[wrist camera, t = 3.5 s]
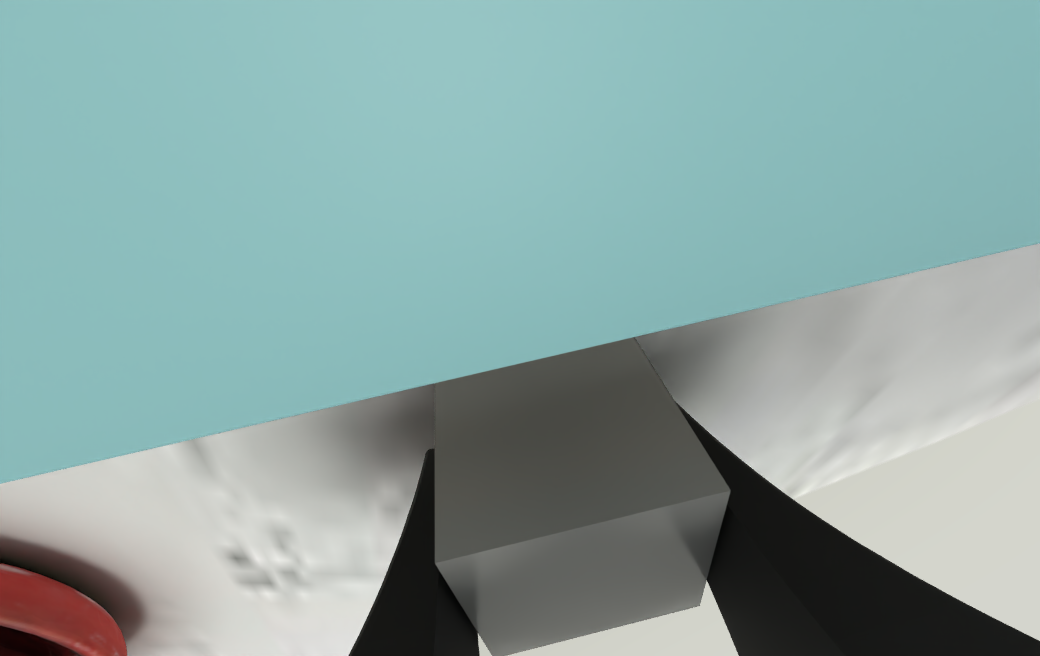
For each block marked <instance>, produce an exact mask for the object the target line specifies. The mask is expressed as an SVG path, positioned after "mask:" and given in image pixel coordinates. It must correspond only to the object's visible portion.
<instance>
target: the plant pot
mask: <svg viewBox="0 0 1040 656" xmlns="http://www.w3.org/2000/svg"><path fill="white" fill-rule="evenodd" d="M0 656H127V649H126V644H125V640H124V637H123V635H122V632H121V630H120V628H119V627H118V625H117V623H116V622H115V621H114V619H113V618H112V617H111V615H110V614H109V613H108V612H107V611H106V610H105V609H103V608H102V607H101V606H100V605H99V604H97V603H96V602H94V601H93V600H92V599H90V598H89V597H87V596H86V595H84V594H82V593H80V592H79V591H77V590H75V589H73V588H72V587H69V586H67V585H65V584H63V583H61V582H58V581H56V580H54V579H51V578H48V577H46V576H43V575H40V574H37V573H34V572H31V571H28V570H26V569H23V568H19V567H15V566H11V565H7V564H3V563H0Z"/></svg>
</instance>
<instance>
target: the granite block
mask: <svg viewBox="0 0 1040 656" xmlns="http://www.w3.org/2000/svg"><path fill="white" fill-rule="evenodd" d="M730 491H731V490H730V489H729V487H728V485H727V484H726V482H725V481H724V479H723V477H722V476H721V474H720V473H719V471H718V470H717V468H716V466H715V465H714V463H713V462H712V460H711V458H710V457H709V455H708V454H707V452H706V450H705V449H704V447H703V446H702V444H701V443H700V441H699V439H698V438H697V436H696V435H695V433H694V431H693V430H692V428H691V427H690V425H689V424H688V422H687V420H686V419H685V417H684V416H683V414H682V412H681V411H680V409H679V408H678V406H677V405H676V403H675V401H674V400H673V398H672V397H671V395H670V393H669V392H668V390H667V389H666V387H665V385H664V384H663V382H662V381H661V379H660V378H659V376H658V374H657V373H656V371H655V370H654V368H653V366H652V365H651V363H650V362H649V360H648V359H647V357H646V355H645V354H644V352H643V351H642V349H641V347H640V346H639V344H638V343H637V341H636V339H635V338H634V337H632V338H628V339H623V340H619V341H615V342H610V343H606V344H602V345H598V346H593V347H589V348H585V349H580V350H576V351H572V352H567V353H563V354H559V355H554V356H550V357H546V358H541V359H537V360H533V361H528V362H524V363H520V364H515V365H511V366H507V367H502V368H498V369H494V370H489V371H485V372H481V373H476V374H472V375H468V376H463V377H459V378H455V379H451V380H446V381H442V382H438V383H435V564H436V566H437V568H438V569H439V571H440V572H441V574H442V576H443V577H444V579H445V580H446V582H447V584H448V585H449V587H450V588H451V590H452V592H453V593H454V595H455V597H456V598H457V600H458V601H459V603H460V605H461V606H462V608H463V609H464V611H465V613H466V614H467V616H468V617H469V619H470V621H471V622H472V624H473V625H474V627H475V629H476V630H477V632H478V633H479V635H480V636H481V638H482V640H483V642H484V643H485V645H486V646H487V648H488V650H489V651H490V653H491V654H492V656H506V655H510V654H514V653H518V652H522V651H526V650H530V649H534V648H538V647H541V646H545V645H549V644H553V643H556V642H561V641H565V640H569V639H573V638H577V637H580V636H584V635H588V634H592V633H596V632H600V631H604V630H608V629H611V628H615V627H619V626H623V625H627V624H631V623H635V622H639V621H643V620H647V619H651V618H654V617H658V616H662V615H666V614H670V613H674V612H678V611H681V610H686V609H689V608H693V607H697V606H700V603H701V598H702V595H703V591H704V588H705V584H706V580H707V577H708V573H709V569H710V565H711V562H712V558H713V554H714V551H715V547H716V543H717V539H718V536H719V532H720V528H721V525H722V521H723V517H724V514H725V510H726V506H727V502H728V499H729V495H730Z"/></svg>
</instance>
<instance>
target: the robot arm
mask: <svg viewBox="0 0 1040 656" xmlns="http://www.w3.org/2000/svg"><path fill="white" fill-rule="evenodd" d="M675 403H676V402H675ZM676 405H677V406H678V408H679V409H680V411H681V412H682V414H683V416H684V417H685V419H686V420H687V422H688V424H689V425H690V427H691V428H692V430H693V431H694V433H695V435H696V436H697V438H698V439H699V441H700V443H701V444H702V446H703V447H704V449H705V450H706V452H707V454H708V455H709V457H710V458H711V460H712V462H713V463H714V465H715V466H716V468H717V470H718V471H719V473H720V474H721V476H722V477H723V479H724V481H725V482H726V484H727V485H728V487H729V489H730V490H731V491H730V495H729V499H728V502H727V506H726V510H725V514H724V517H723V521H722V525H721V528H720V532H719V536H718V539H717V543H716V547H715V551H714V554H713V558H712V562H711V565H710V569H709V573H708V577H707V582H708V583H709V586H710V588H711V591H712V593H713V595H714V598H715V600H716V602H717V604H718V607H719V609H720V612H721V614H722V616H723V619H724V621H725V623H726V626H727V628H728V630H729V633H730V635H731V638H732V640H733V642H734V645H735V647H736V650H737V652H738V655H739V656H1040V641H1039V640H1036V639H1034V638H1032V637H1030V636H1028V635H1026V634H1024V633H1022V632H1020V631H1018V630H1016V629H1014V628H1012V627H1010V626H1008V625H1006V624H1004V623H1002V622H1000V621H998V620H996V619H994V618H992V617H990V616H988V615H987V614H985V613H982V612H981V611H979V610H977V609H975V608H973V607H971V606H969V605H967V604H965V603H963V602H962V601H960V600H958V599H956V598H954V597H952V596H950V595H948V594H947V593H945V592H943V591H941V590H939V589H938V588H936V587H934V586H932V585H930V584H928V583H926V582H925V581H923V580H921V579H919V578H917V577H916V576H914V575H912V574H910V573H909V572H907V571H905V570H903V569H902V568H900V567H899V566H897V565H895V564H894V563H892V562H890V561H888V560H887V559H885V558H883V557H882V556H880V555H878V554H877V553H875V552H873V551H871V550H870V549H868V548H866V547H865V546H863V545H861V544H859V543H858V542H856V541H854V540H853V539H851V538H850V537H848V536H847V535H845V534H844V533H842V532H841V531H839V530H838V529H836V528H834V527H833V526H831V525H830V524H828V523H827V522H825V521H824V520H822V519H821V518H819V517H817V516H816V515H815V514H813V513H812V512H810V511H809V510H807V509H806V508H804V507H803V506H801V505H800V504H798V503H797V502H796V501H794V500H793V499H792V498H790V497H789V496H787V495H786V494H785V493H783V492H782V491H781V490H779V489H778V488H777V487H775V486H774V485H773V484H771V483H770V482H769V481H767V480H766V479H765V478H763V477H762V476H761V475H759V474H758V473H757V472H756V471H754V470H753V469H752V468H751V467H749V466H748V465H747V464H746V463H744V462H743V461H742V460H741V459H739V458H738V457H737V456H736V455H735V454H733V453H732V452H731V451H730V450H729V449H727V448H726V447H725V446H724V445H723V444H721V443H720V442H719V441H718V440H717V439H716V438H715V437H713V436H712V435H711V434H710V433H709V432H708V431H707V430H705V429H704V428H703V427H702V426H701V425H700V424H699V423H698V422H697V421H695V420H694V419H693V418H692V417H691V416H690V415H689V414H688V413H687V412H686V411H685V410H684V409H683V408H681V407H680V406H679V405H678V404H677V403H676ZM349 656H479V647H478V632H477V630H476V629H475V627H474V625H473V624H472V622H471V621H470V619H469V617H468V616H467V614H466V613H465V611H464V609H463V608H462V606H461V605H460V603H459V601H458V600H457V598H456V597H455V595H454V593H453V592H452V590H451V588H450V587H449V585H448V584H447V582H446V580H445V579H444V577H443V576H442V574H441V572H440V571H439V569H438V568H437V566H436V564H435V448H434V449H430V450H428V451H427V452H426V454H425V458H424V463H423V467H422V471H421V474H420V478H419V482H418V485H417V489H416V492H415V495H414V499H413V502H412V505H411V508H410V511H409V514H408V517H407V520H406V523H405V526H404V529H403V532H402V534H401V537H400V540H399V543H398V545H397V548H396V551H395V553H394V556H393V558H392V561H391V563H390V566H389V568H388V571H387V573H386V576H385V578H384V581H383V583H382V586H381V588H380V590H379V593H378V595H377V597H376V599H375V602H374V604H373V606H372V608H371V611H370V613H369V615H368V617H367V619H366V621H365V623H364V626H363V628H362V630H361V632H360V634H359V636H358V638H357V640H356V642H355V644H354V646H353V648H352V650H351V652H350V654H349Z"/></svg>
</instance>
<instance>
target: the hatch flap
mask: <svg viewBox="0 0 1040 656" xmlns="http://www.w3.org/2000/svg"><path fill="white" fill-rule="evenodd" d="M1038 243H1040V0H0V484H1V483H5V482H10V481H14V480H18V479H23V478H27V477H31V476H35V475H40V474H44V473H48V472H53V471H57V470H61V469H66V468H70V467H74V466H79V465H83V464H87V463H92V462H96V461H100V460H105V459H109V458H113V457H118V456H122V455H126V454H131V453H135V452H139V451H144V450H148V449H152V448H157V447H161V446H165V445H169V444H174V443H178V442H182V441H187V440H191V439H195V438H200V437H204V436H208V435H213V434H217V433H221V432H226V431H230V430H234V429H239V428H243V427H247V426H252V425H256V424H260V423H265V422H269V421H273V420H278V419H282V418H286V417H291V416H295V415H299V414H304V413H308V412H312V411H316V410H321V409H325V408H329V407H334V406H338V405H342V404H347V403H351V402H355V401H360V400H364V399H368V398H373V397H377V396H381V395H386V394H390V393H394V392H399V391H403V390H407V389H412V388H416V387H420V386H425V385H429V384H433V383H438V382H442V381H446V380H451V379H455V378H459V377H463V376H468V375H472V374H476V373H481V372H485V371H489V370H494V369H498V368H502V367H507V366H511V365H515V364H520V363H524V362H528V361H533V360H537V359H541V358H546V357H550V356H554V355H559V354H563V353H567V352H572V351H576V350H580V349H585V348H589V347H593V346H598V345H602V344H606V343H610V342H615V341H619V340H623V339H628V338H632V337H636V336H641V335H645V334H649V333H654V332H658V331H662V330H667V329H671V328H675V327H680V326H684V325H688V324H693V323H697V322H701V321H706V320H710V319H714V318H719V317H723V316H727V315H732V314H736V313H740V312H744V311H749V310H753V309H757V308H762V307H766V306H770V305H775V304H779V303H783V302H788V301H792V300H796V299H801V298H805V297H809V296H814V295H818V294H822V293H827V292H831V291H835V290H840V289H844V288H848V287H853V286H857V285H861V284H866V283H870V282H874V281H879V280H883V279H887V278H891V277H896V276H900V275H904V274H909V273H913V272H917V271H922V270H926V269H930V268H935V267H939V266H943V265H948V264H952V263H956V262H961V261H965V260H969V259H974V258H978V257H982V256H987V255H991V254H995V253H1000V252H1004V251H1008V250H1013V249H1017V248H1021V247H1026V246H1030V245H1034V244H1038Z"/></svg>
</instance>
